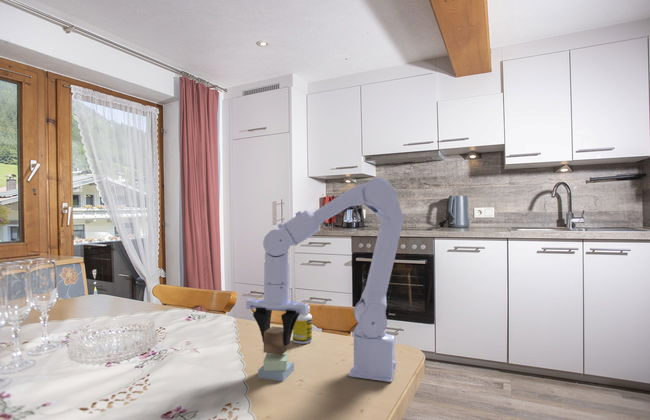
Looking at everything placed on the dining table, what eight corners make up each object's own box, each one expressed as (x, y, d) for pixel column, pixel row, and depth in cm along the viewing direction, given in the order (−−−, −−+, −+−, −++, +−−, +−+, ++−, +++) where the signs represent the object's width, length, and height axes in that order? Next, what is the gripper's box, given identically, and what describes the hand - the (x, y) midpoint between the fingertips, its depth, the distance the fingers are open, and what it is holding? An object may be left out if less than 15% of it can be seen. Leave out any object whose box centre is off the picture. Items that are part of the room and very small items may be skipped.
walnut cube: (290, 347, 86) (290, 328, 86) (282, 354, 81) (282, 334, 81) (272, 345, 87) (272, 326, 87) (263, 352, 83) (263, 332, 83)
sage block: (288, 362, 86) (288, 352, 86) (286, 371, 81) (286, 360, 81) (266, 361, 86) (267, 352, 86) (263, 370, 81) (263, 360, 81)
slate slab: (293, 372, 85) (293, 362, 85) (283, 383, 80) (283, 373, 80) (270, 368, 87) (270, 359, 87) (258, 379, 82) (258, 369, 82)
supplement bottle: (309, 345, 102) (309, 309, 102) (290, 343, 103) (290, 308, 103) (313, 338, 107) (314, 304, 108) (295, 337, 108) (296, 303, 109)
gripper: (312, 281, 86) (312, 340, 85) (256, 277, 90) (256, 334, 90) (302, 286, 79) (301, 350, 79) (241, 282, 83) (241, 343, 83)
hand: (276, 342), depth 84 cm, fingers closed on walnut cube, 4 cm apart
